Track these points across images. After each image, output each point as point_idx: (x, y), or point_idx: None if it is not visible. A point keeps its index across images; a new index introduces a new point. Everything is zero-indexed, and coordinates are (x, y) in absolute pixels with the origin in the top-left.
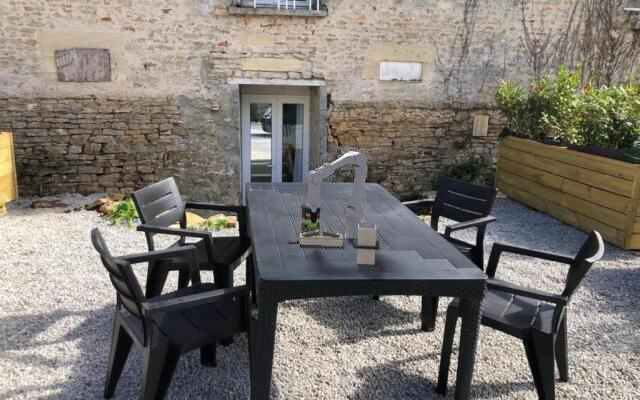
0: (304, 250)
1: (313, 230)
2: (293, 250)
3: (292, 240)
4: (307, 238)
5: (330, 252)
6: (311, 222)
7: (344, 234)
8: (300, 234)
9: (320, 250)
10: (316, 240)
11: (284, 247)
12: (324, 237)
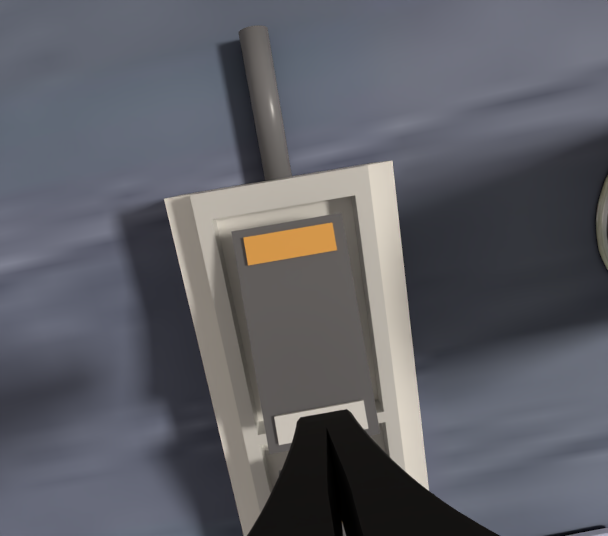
0: (48, 275)
1: (359, 359)
2: (7, 164)
3: (258, 90)
4: (213, 289)
5: (76, 502)
6: (301, 421)
7: (598, 529)
8: (310, 181)
9: (101, 416)
10: (209, 386)
11: (73, 37)
12: (255, 475)
